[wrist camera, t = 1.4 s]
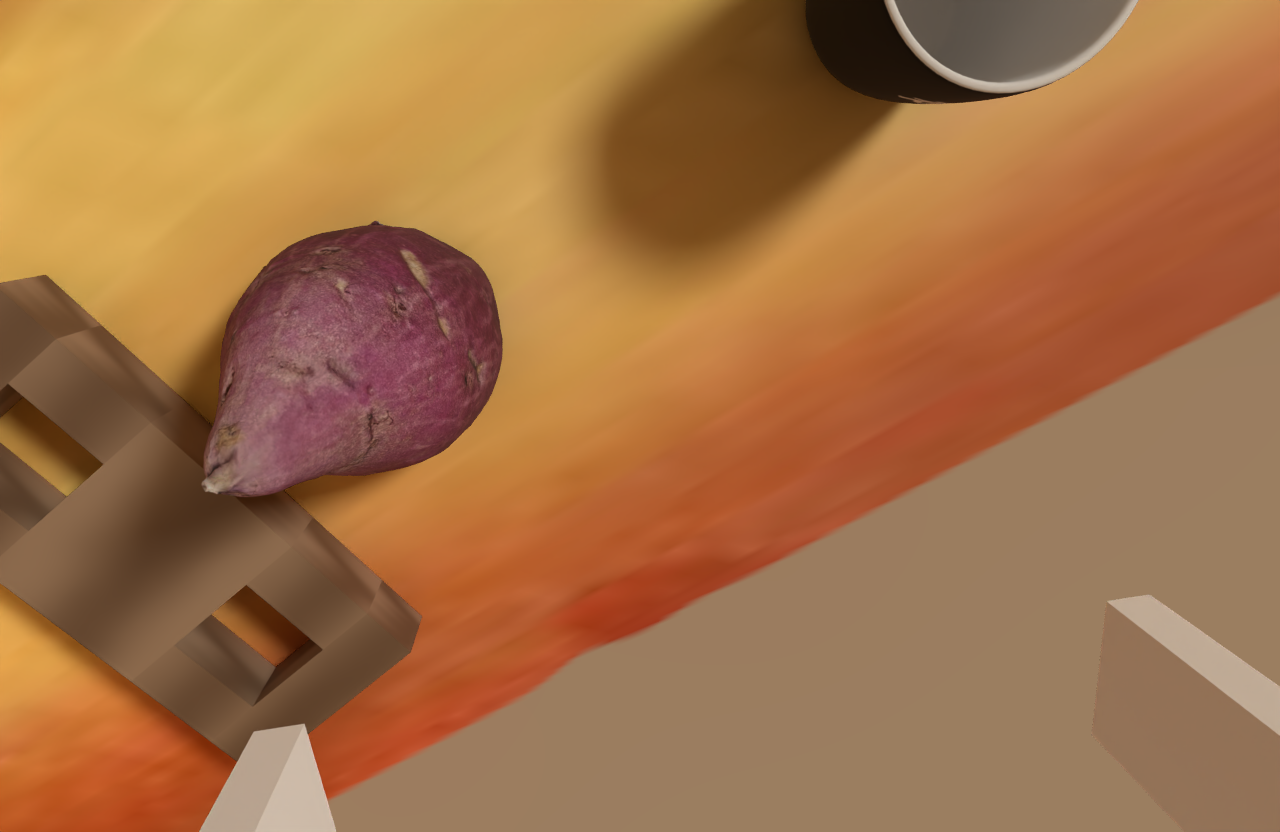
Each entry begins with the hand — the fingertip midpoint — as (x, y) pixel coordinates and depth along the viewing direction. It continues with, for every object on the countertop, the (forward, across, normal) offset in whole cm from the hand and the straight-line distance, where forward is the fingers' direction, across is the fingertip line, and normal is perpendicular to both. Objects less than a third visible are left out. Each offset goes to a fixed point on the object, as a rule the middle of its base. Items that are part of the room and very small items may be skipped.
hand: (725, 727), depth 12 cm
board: (+24, -21, -5) cm, 32 cm away
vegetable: (+24, -10, +3) cm, 26 cm away
